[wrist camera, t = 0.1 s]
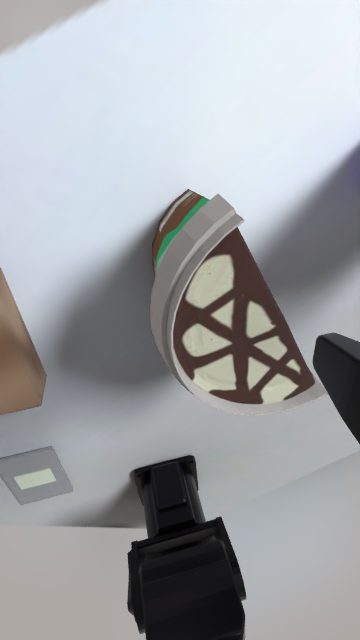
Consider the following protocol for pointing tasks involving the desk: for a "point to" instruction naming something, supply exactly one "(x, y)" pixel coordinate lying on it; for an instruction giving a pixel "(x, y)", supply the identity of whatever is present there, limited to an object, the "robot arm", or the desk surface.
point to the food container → (222, 315)
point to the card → (34, 475)
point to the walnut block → (17, 359)
